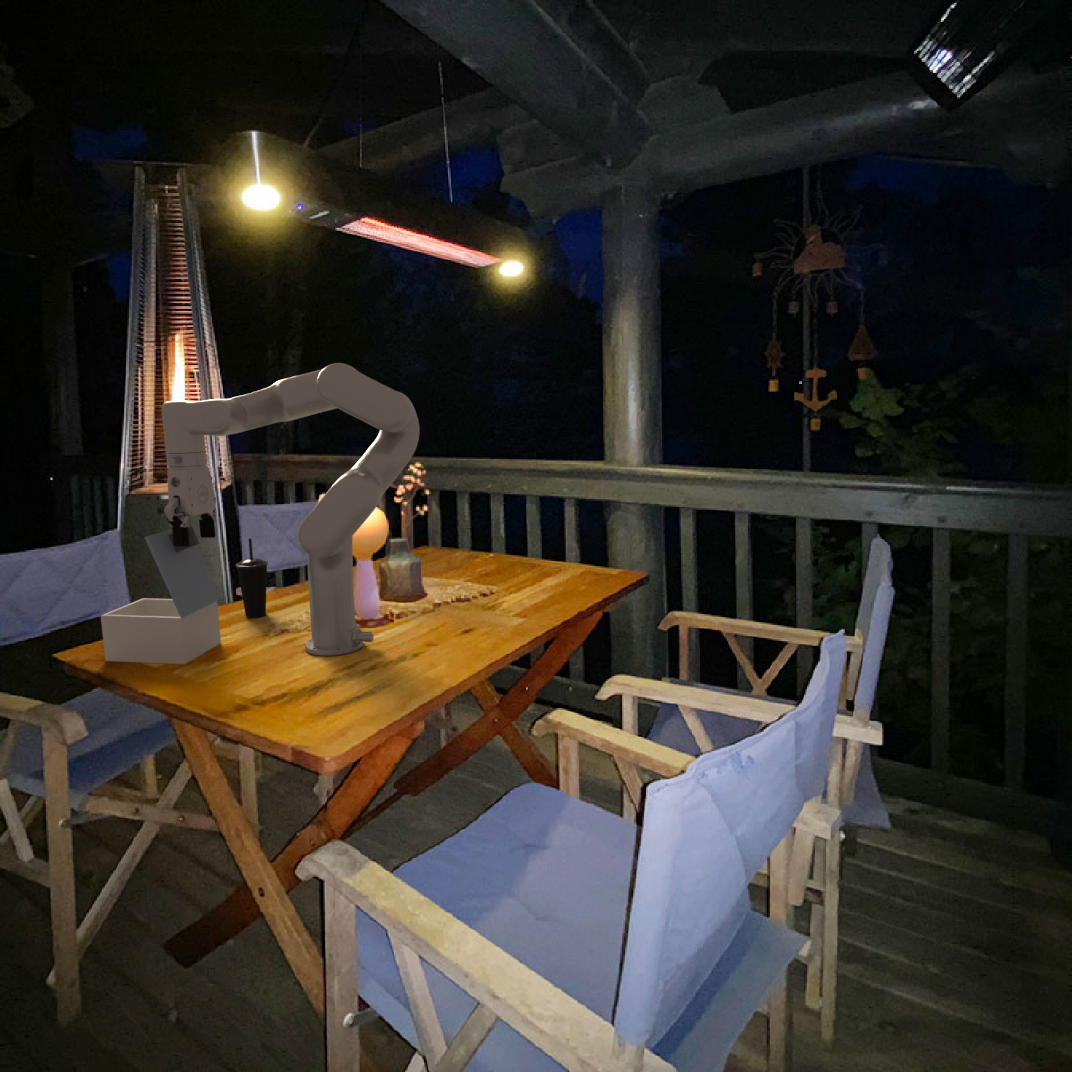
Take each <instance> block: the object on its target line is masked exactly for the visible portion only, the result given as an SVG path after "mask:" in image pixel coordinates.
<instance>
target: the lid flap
mask: <svg viewBox="0 0 1072 1072" xmlns="http://www.w3.org/2000/svg"><path fill="white" fill-rule="evenodd" d="M185 527H188V532H189V542H190V545H189V546H174V542H173V532H172V528H171V529H169V530H165V531H161V532H158V533H154V534H151V535H147V536H144V540H145V542H146V544H147V546H148V549H149V550H150V553H151V555H152V557H153V559H154V562H155V563H156V567H157V568H158V570H159V573H160V575H161V578H162V579H163V581H164V584H165V586H166V589H167V591H168V593H169V594H170V597H171V599H173V602H174V604H175V606H176V608H177V611H178V613H179V615H180V617H181V618H183V617H185V616H187V615H189V614H191V613H193V612H195V611H197V610H199V609H201V608H203V607H206V606H208V605H210V604H212V603H214V602H216V601H217V602H218V601H219V600H221V597H220V594H219V592H218V591H217V588H216V586H215V584H214V582H213V579H212V577H211V575H210V572H209V570H208V568H207V566H206V563H205V561H204V558H203V557H202V554H201V552H200V550H199V548H198V545H199V544H200V542H199V540H198V537H197V535H196V532H195V531H194V528H193V526H189V525H188V524H186V526H185Z"/></svg>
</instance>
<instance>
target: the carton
mask: <svg viewBox="0 0 1072 1072" xmlns="http://www.w3.org/2000/svg"><path fill="white" fill-rule="evenodd" d="M218 604H219V603H218V601H216V602H214V603H212V604H210V605H208V606H206V607H203V608H201V609H199V610H197V611H195V612H193V613H191V614H189V615H187V616H185V617H183V618H181V617H180V615H179V613H178V611H177V608H176V606H175V604H174V602H173V599H172V598H152V597H151V598H150V597H149V598H146V597H145V598H144V597H143V598H140V599H138V600H136V601H133V602H131V603H128V604H126V605H123V606H120V607H118V608H116V609H113V610H111V611H108V612H106V613H104V614H102V615H100V623H101V631H102V640H103V648H104V657H105V661H106V662H118V663H119V662H120V663H121V662H122V663H141V664H142V663H146V664H147V663H149V664H167V665H169V664H171V665H173V664H174V665H186V664H188V663H190V662H191V661H193V660H195V659H196V658H198V657H200V656H202V655H203V654H204V653H206V652H208V651H210V650H211V649H213V648H215V647H216V646H219V645H220V644H221V643H222V640H221V630H220V628H221V627H220V617H219V607H218Z"/></svg>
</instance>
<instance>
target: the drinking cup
mask: <svg viewBox="0 0 1072 1072" xmlns="http://www.w3.org/2000/svg"><path fill="white" fill-rule="evenodd" d="M252 540H253V539H252V538H248V549H249V551H248V552H249V558H246V559H243V560H241V561H239V562H237V563H236V564H235V567H236V569H237V575H238V580H239V586H240V591H241V596H242V603H243V608H244V609H243V610H244V615H245V617H246V618H250V619H257V618H261V617H264V616H266V613H267V579H268V577H267V575H268V572H267V571H268V565H269V562H268V561H266V560H263V559H261V558H254V556H253V543H252Z"/></svg>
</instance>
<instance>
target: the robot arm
mask: <svg viewBox="0 0 1072 1072" xmlns="http://www.w3.org/2000/svg"><path fill="white" fill-rule="evenodd" d="M336 409H339V410H340V411H342V412H344V413H346V414H348V415H350V416H352V417H354V418H356V419H358V420H360V421H362V422H364V423H366V424H367V425H369V426H371V427H374V428H376V429H377V430H379V432H378V435H377V436H376V438H375V439H374V441H373V442H372V443H371V445H370V446H369V447H368V448H367V450H365V452H364V453H363V454H362V456H361V457H360V458H359V459H358V461H357V462H356V463H355V464H354V465H353V466H352V467H351V468H350V469H348V470H347V471H346V472H345V473H344V474H342V475H341V476H340V477H339V478H338V479H337V480H336V481H335V482H334V483H333V484H332V486H331V487H330V488H328V491H327V492H326V493H325V494H323V495H324V496H322V497H321V499H320V500H319V501H318V503H316V505H315V506H314V507H313V508H312V509H311V511H310V512H309V513H308V515H306V517H305V518H304V519H303V520H302V522H301V523H300V526H299V528H298V533H297V534H298V535H297V536H298V537H297V539H298V542H299V545H300V547H301V548H302V550H303V552H304V553H306V555H307V578H308V579H307V581H308V582H307V583H308V594H309V595H308V596H309V611H310V612H309V613H310V627H311V628H310V629H311V638H310V639H309V640H307V641H306V642H305V644H304V649H305V651H306V653H308V654H310V655H316V656H323V657H324V656H325V657H327V656H330V657H331V656H340V655H346V654H351V653H353V652H356V651H358V650H359V649H361V648H362V647H363V646H364V644H365V643H373V641H374V639H375V638H374V637H375V636H374V635H375V634H374V633H373V631H371V630H362V629H361V624H359V623H358V624H357V623H356V610H355V609H356V608H355V606H356V605H355V588H354V566H353V565H354V564H353V561H354V560H353V559H354V558H353V538H354V537H353V536H354V535H355V534H356V532H358V530H359V529H360V528H361V527H362V525H363V524H364V523H365V522H366V521H367V520H368V518H370V516H371V514H373V512H374V511H375V510H376V508H377V506H378V505H379V503H380V501H381V499H382V497H383V495H384V494H385V493H386V491H387V490H388V489H389V488H390V486H391V485H392V484H393V483H394V481H395V480H397V478H398V476H399V475H400V474H401V473H402V471H403V470H404V468H406V466H407V464H408V463H409V462H410V460H411V459H412V457H413V456H414V453H415V452H416V449H417V447H418V443H419V440H420V439H419V437H420V423H419V421H420V420H419V418H418V415H417V412H416V409H415V407H414V405H413V403H412V401H411V400H410V398H409V397H408V396H407V395H406V394H404V393H403V392H400V391H397V390H394V389H393V388H391V387H388V385H385V384H382V383H381V382H379V381H377V380H375V379H373V378H371V377H369V376H367V375H365V374H363V373H362V372H360V371H358V370H357V369H356V368H355V367H353V366H351V365H349V364H347V363H342V362H335V363H331V364H328V365H327V366H325V367H324V368H321V369H317V370H313V371H311V372H306V373H303V374H298V375H294V376H291V377H286V378H283V379H279V380H276V381H275V382H274V383H273V384H271V385H270V386H268V387H265V388H262V389H260V390H257V391H253V392H251V393H250V392H249V393H246V394H243V395H238V396H234V397H231V398H229V397H228V398H214V399H213V398H212V399H206V400H200V401H195V400H169V401H165V402H164V403H163V404H162V406H161V418H162V427H163V436H164V444H165V445H164V447H165V455H166V463H167V469H168V472H167V473H168V474H167V494H168V495H167V496H168V503H167V504H166V506H165V507H164V508H163V513H165V516H166V520H167V522H168V523H169V527H170V528H171V529H172V532H173V542H174V546H189V545H190V542H189V532H188V527H189V526H188V527H185V526H186V525H187V522H188V520H189V517H199V518H200V519H198V523H199V524H198V526H199V532H200V535H199V536H200V538H202V539H203V538H206V539H207V538H209V539H212V538H213V539H214V538H216V527H215V526H216V525H215V518H216V515H215V512H216V509H217V507H216V505H217V497H216V496H215V490H214V485H213V480H212V475H211V472H210V468H209V466H208V459H207V449H206V448H207V447H206V440H205V439H206V438H205V436H212V437H224V436H225V437H226V436H229V435H235V434H239V433H243V432H246V431H250V430H253V429H257V428H262V427H265V426H270V425H272V424H276V423H281V422H282V423H283V422H291V421H294V420H299V419H301V418H305V417H308V416H312V415H316V414H319V413H320V414H321V413H323V412H328V411H332V410H336Z"/></svg>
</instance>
